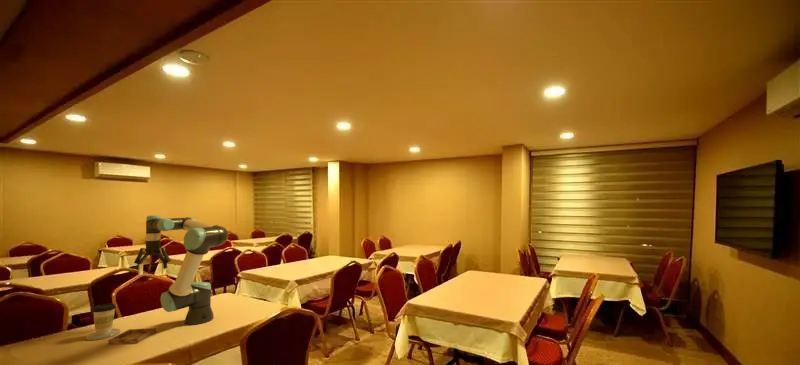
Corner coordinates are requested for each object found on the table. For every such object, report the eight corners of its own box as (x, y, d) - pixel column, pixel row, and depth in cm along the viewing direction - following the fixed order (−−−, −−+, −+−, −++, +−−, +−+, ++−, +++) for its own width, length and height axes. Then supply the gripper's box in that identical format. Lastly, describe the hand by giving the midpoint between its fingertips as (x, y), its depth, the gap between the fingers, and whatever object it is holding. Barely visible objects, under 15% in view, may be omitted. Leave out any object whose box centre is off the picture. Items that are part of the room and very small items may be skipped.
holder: (156, 332, 185) (156, 328, 185) (137, 343, 171) (137, 338, 171) (129, 333, 184) (129, 329, 184) (108, 344, 170) (108, 340, 170)
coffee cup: (100, 337, 176) (101, 309, 177) (86, 336, 178) (87, 308, 179) (119, 330, 186) (120, 303, 187) (106, 329, 188) (107, 302, 189)
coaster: (126, 329, 189) (126, 327, 189) (106, 339, 175) (106, 337, 175) (100, 330, 188) (100, 329, 188) (78, 341, 174) (78, 339, 174)
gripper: (177, 238, 210) (176, 272, 209) (136, 239, 208) (135, 273, 207) (170, 240, 203) (169, 274, 201) (127, 241, 201) (126, 276, 200)
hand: (152, 274), depth 204 cm, fingers open, 13 cm apart
